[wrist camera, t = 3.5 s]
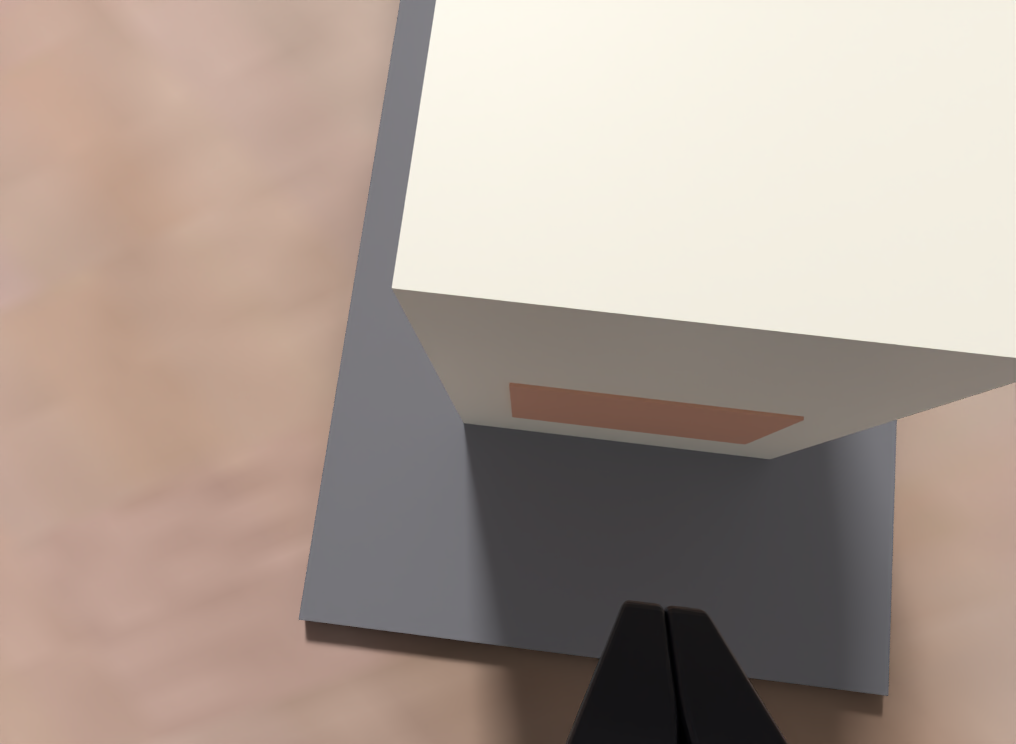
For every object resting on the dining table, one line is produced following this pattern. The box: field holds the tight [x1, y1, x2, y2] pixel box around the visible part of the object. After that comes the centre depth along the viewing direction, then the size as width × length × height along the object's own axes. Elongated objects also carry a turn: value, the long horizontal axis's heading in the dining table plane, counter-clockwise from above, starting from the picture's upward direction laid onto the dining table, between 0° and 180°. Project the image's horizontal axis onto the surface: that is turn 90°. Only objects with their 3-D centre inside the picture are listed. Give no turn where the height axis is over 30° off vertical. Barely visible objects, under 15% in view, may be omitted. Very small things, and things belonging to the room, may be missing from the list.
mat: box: [299, 0, 897, 696], centre depth 17 cm, size 19×11×1 cm, turn 173°
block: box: [392, 0, 1016, 459], centre depth 12 cm, size 6×6×9 cm
